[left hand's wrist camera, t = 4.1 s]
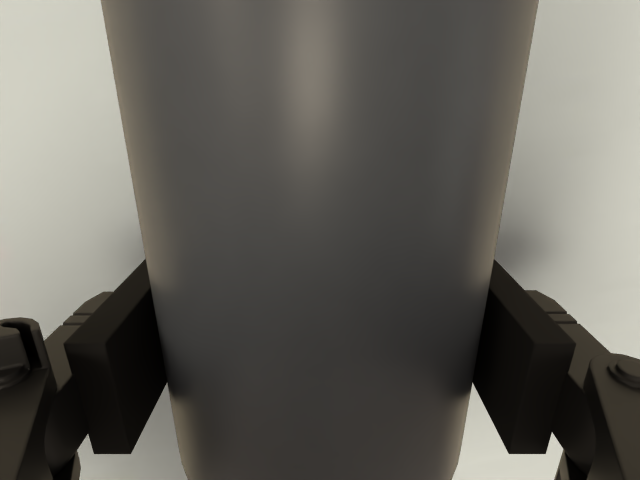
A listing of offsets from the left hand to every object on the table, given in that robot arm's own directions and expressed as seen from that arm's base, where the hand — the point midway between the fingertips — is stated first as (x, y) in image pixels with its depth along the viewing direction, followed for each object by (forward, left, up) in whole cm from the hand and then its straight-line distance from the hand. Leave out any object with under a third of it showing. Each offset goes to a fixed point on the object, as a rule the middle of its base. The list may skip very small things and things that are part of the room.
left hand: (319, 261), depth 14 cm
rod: (+7, +7, -1) cm, 10 cm away
